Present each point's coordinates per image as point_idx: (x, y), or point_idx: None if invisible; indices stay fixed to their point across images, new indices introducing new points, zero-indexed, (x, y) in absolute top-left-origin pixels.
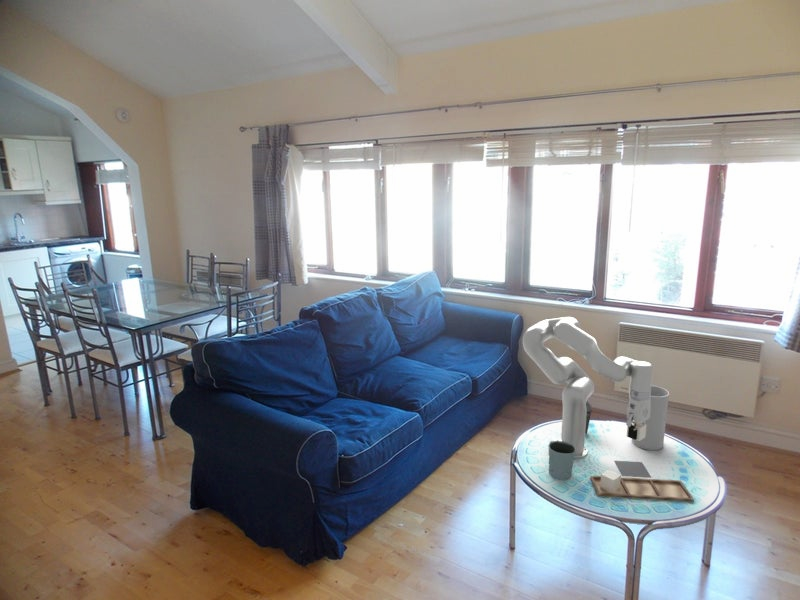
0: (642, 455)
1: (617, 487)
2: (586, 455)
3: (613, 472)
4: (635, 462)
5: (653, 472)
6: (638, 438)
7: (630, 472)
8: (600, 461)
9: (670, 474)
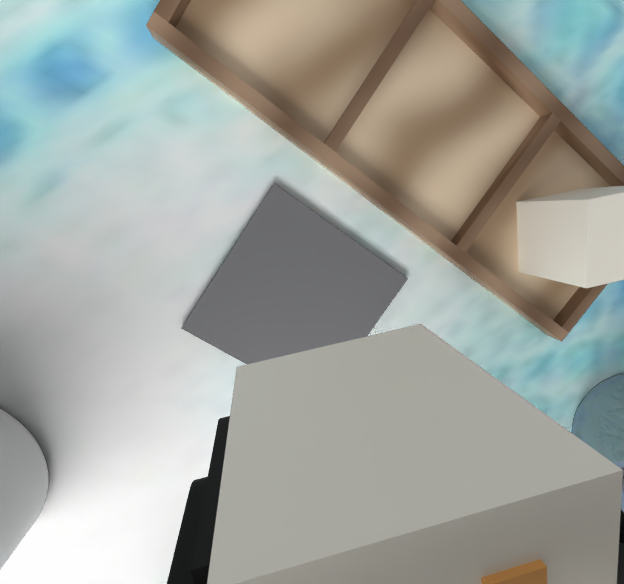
0: (106, 383)
1: (550, 196)
2: None
3: (594, 247)
4: (223, 341)
5: (205, 221)
6: (443, 348)
7: (339, 280)
8: None
9: (119, 150)
